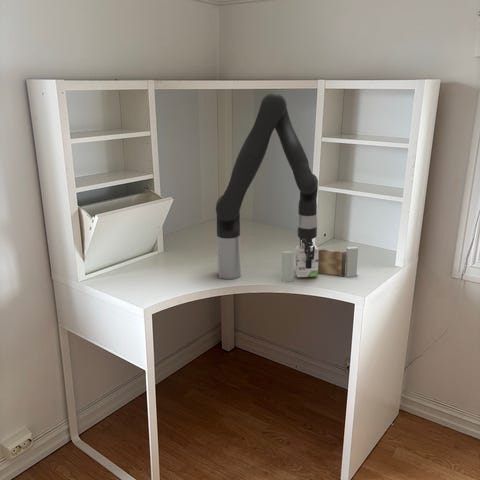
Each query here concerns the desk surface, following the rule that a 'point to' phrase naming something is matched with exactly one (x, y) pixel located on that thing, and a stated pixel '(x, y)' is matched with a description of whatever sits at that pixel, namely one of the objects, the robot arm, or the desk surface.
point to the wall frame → (289, 263)
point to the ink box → (301, 263)
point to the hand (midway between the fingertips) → (306, 265)
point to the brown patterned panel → (331, 262)
